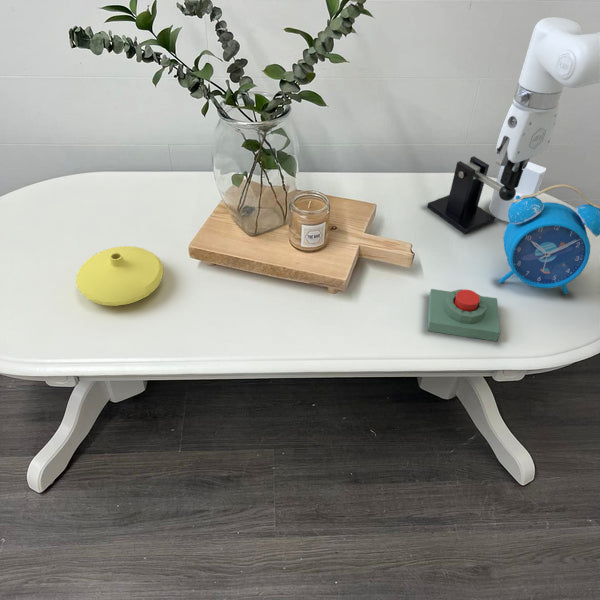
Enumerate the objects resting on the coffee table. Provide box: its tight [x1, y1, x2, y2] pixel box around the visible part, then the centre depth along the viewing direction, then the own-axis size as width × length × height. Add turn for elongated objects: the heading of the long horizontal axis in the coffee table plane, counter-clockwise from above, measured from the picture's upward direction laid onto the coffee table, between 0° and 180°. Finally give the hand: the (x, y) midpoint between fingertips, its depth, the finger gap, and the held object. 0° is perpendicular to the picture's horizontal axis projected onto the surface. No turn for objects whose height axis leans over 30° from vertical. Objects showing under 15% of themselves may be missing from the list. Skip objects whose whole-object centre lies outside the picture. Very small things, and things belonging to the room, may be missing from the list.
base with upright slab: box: [488, 161, 547, 223], centre depth 126 cm, size 9×9×12 cm
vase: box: [75, 245, 164, 307], centre depth 106 cm, size 16×16×7 cm
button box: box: [427, 288, 501, 342], centre depth 102 cm, size 12×9×4 cm
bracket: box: [426, 155, 496, 235], centre depth 124 cm, size 12×9×13 cm
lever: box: [465, 161, 516, 201], centre depth 118 cm, size 13×3×3 cm, turn 33°
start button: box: [455, 289, 480, 312], centre depth 101 cm, size 4×4×2 cm
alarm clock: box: [498, 183, 600, 295], centre depth 105 cm, size 17×10×20 cm, turn 76°
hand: (508, 185), depth 114 cm, fingers closed
